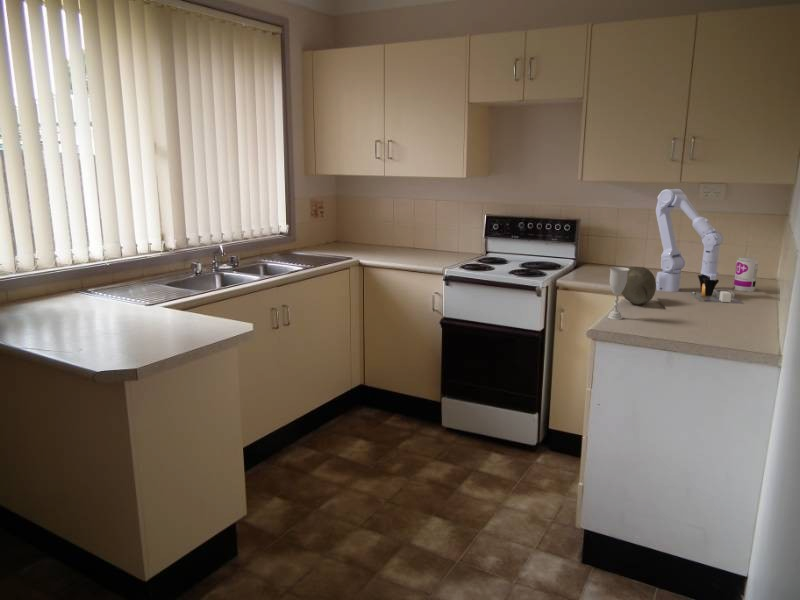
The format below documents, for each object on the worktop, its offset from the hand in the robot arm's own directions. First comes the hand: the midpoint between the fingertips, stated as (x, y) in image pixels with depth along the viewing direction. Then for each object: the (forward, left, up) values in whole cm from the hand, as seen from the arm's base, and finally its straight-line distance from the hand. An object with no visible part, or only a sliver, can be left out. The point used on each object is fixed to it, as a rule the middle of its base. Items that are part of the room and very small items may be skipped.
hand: (706, 294), depth 261 cm
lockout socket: (+7, +2, -1) cm, 7 cm away
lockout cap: (0, 0, -1) cm, 1 cm away
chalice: (-42, -43, -2) cm, 60 cm away
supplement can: (+20, +18, -2) cm, 27 cm away
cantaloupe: (-31, -18, -2) cm, 35 cm away
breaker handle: (+5, -9, -1) cm, 10 cm away
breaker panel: (+3, -3, -2) cm, 5 cm away
